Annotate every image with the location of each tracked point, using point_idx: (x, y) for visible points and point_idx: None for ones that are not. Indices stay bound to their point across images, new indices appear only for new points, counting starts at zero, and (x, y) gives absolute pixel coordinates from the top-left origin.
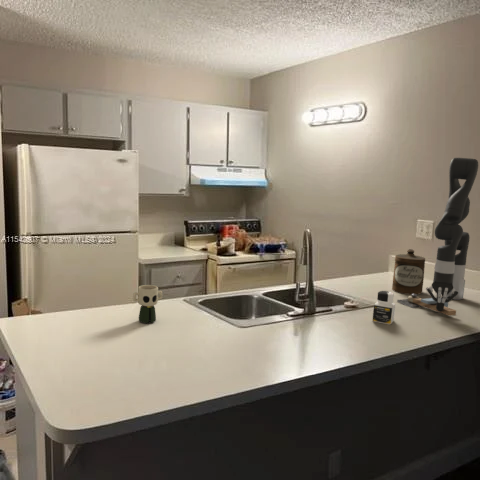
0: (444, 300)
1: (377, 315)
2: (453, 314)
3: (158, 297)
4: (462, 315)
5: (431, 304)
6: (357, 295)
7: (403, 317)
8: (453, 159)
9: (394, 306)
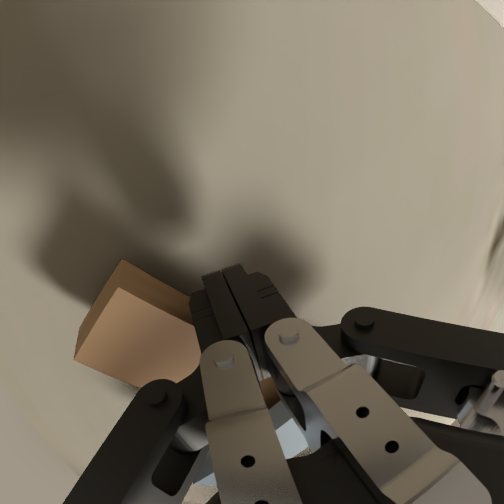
0: (215, 380)
1: None
2: (90, 311)
3: None
4: (75, 396)
5: None
6: (495, 322)
7: (443, 64)
8: None
9: None
